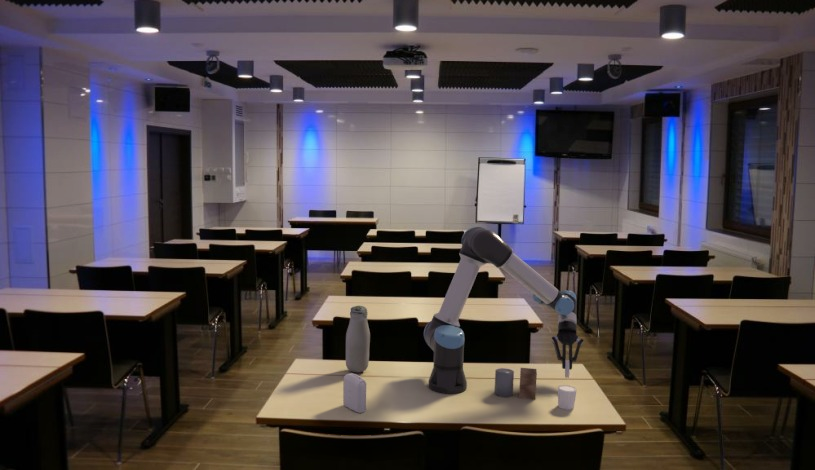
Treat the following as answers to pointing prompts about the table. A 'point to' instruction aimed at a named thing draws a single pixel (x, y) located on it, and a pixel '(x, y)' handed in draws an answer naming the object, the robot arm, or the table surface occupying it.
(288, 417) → the table surface
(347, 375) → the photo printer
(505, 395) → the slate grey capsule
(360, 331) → the grey bottle
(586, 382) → the table surface
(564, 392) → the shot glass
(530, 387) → the walnut block
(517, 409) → the table surface
